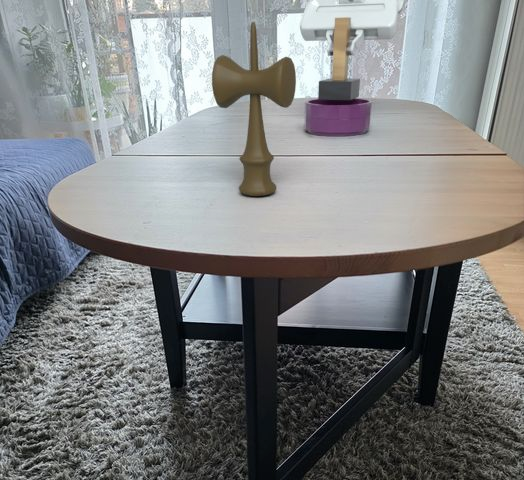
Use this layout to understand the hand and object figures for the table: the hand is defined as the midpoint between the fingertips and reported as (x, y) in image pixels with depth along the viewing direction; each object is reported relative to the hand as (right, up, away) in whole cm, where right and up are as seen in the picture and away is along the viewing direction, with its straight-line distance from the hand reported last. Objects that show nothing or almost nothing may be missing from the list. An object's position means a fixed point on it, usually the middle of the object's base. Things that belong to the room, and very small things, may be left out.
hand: (340, 53), depth 104 cm
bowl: (+1, -12, +8) cm, 15 cm away
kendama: (-17, -39, -34) cm, 54 cm away
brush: (0, -7, +5) cm, 8 cm away
